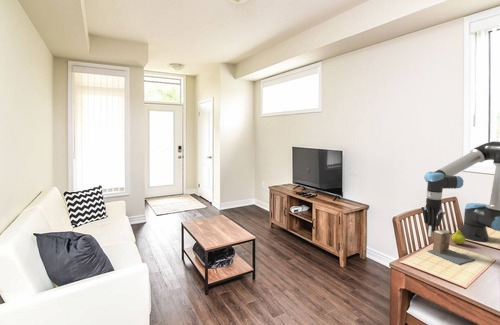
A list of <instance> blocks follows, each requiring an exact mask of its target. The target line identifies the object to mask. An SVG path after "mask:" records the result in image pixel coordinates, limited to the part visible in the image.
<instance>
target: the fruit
mask: <svg viewBox="0 0 500 325" xmlns="http://www.w3.org/2000/svg"><path fill="white" fill-rule="evenodd" d="M455 226H456V227H457V228H459V226H458V225H457V224H456V225H455ZM460 230H461V229H457V230H456V231H455V233H453V234H452V235H451V241H452V243H454V244H456V245H463V244H465V242H466V241H467V238H465V237H464V236H463V235H462V233H461V231H460Z"/></svg>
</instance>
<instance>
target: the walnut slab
mask: <svg viewBox="0 0 500 325" xmlns="http://www.w3.org/2000/svg"><path fill="white" fill-rule="evenodd" d="M450 239H451V231H449V230H446V229H444V228H443V229H439V230H435V231H434V236H433V242H432V250H433V251H435V252H437V253H443V252H447V251H449V250H450V249H449V248H450Z"/></svg>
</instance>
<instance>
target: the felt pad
mask: <svg viewBox="0 0 500 325" xmlns="http://www.w3.org/2000/svg"><path fill="white" fill-rule="evenodd" d="M427 252H428V253H430V254H432V255H434V256H437V257H439V258H441V259H444V260H446V261H448V260H449V261H448V262H451V263H454V264H457V265H458V266H459V265H463V264H466V263H470V262H473V261H475V258H473V257H470V256H468V255H465V254H462V253H460V252H457V251H455V250H451V249H449V251H447V252H443V253H437V252H435V251H433V249H430V250H429V249H428V250H427ZM472 260H473V261H472Z"/></svg>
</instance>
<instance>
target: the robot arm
mask: <svg viewBox="0 0 500 325" xmlns="http://www.w3.org/2000/svg"><path fill="white" fill-rule="evenodd" d="M488 160H489V161H490V160H492V161H493V162H492V163H493V165H495V170H494V175H493V176H494V177H493V183H492V188H491V194H490V200H489V204H486V203H480V202H479V203H477V202H473V203H472V202H471V203H470V202H469V203H466V204H465V207H464V215H463V224H462V226H461V228H460V229H459V230H460V231H461V233H462V235H463V236H464V237H465V239H466V240H469V241H470V240H471V241H476V242H488V241H489V236H490V235H489V233H488V230H487V228H489V229H492V230H494V231H497V232H500V141H495V140H494V141H488V142H485V143H483V144H480V145H478V146H476V147H474V148H472V149H471V150H470V151H469V152H468V153H466V154H465V155H463V156H461V157H459V158H457V159H456V160H454V161H452V162H449V163H448V164H446V165H445V166H443V167H441V168H439V169H437V170H436V171H435V170H434V171H427V172H425V174H424V181H425V182H426V183H427V186H426V187H427V189H426V200H425V204H426V205H425V206H422V207H421V210H422V215H423V220H424V224H426V225H427V229H426V230H427V231H428V232H427V233H428V234H427V237H431V238H432V237H434V231H436V228H437V227H440V225H441V222H442V220H443V217H444V215H445V214H446V212H445V211H443V210H442V207H441V206H442V199H443V198H442V196H443V189H444V190H445V189H447V190H449V189H451V190H452V189H454V190H455V189H461V188H462V187H463V186H464V179H463V177H461V176H459V175H457V174H459V173H461V172H463V171H465V170H467V169H468V168H470V167H472V166H475V164H478V163H483V162H485V161H488Z"/></svg>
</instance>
